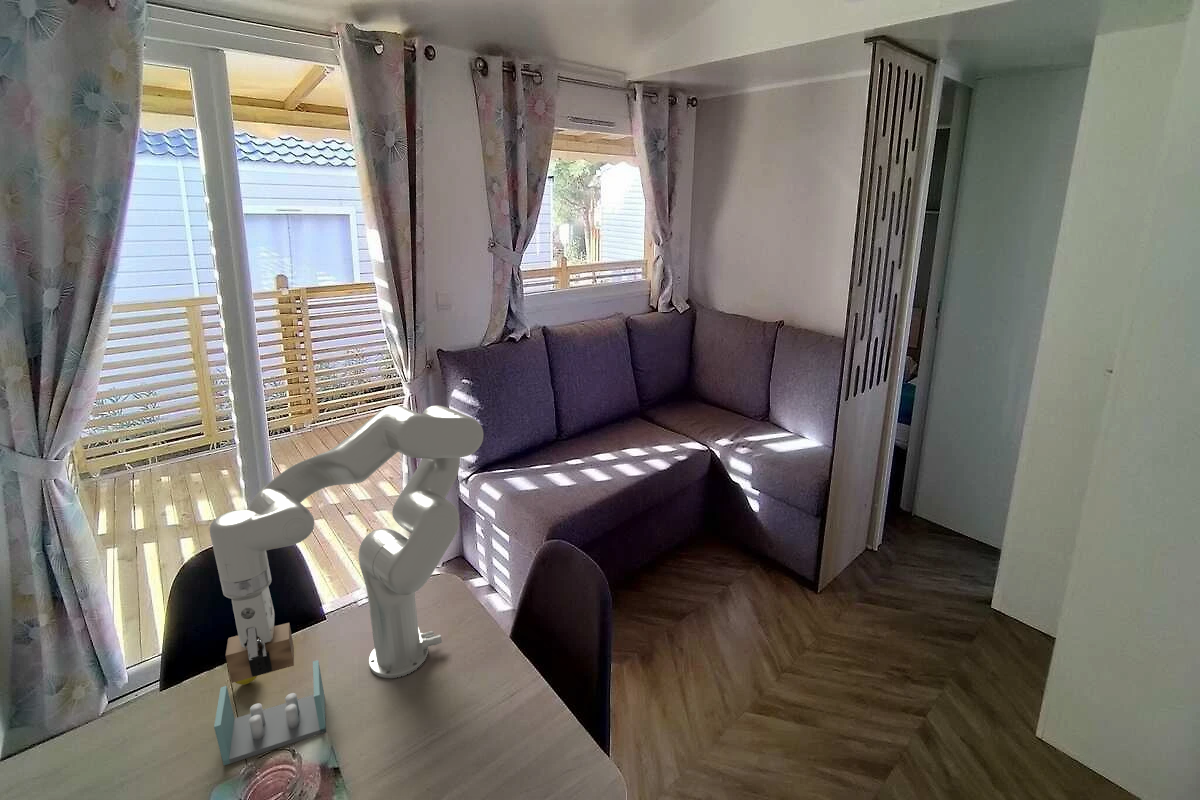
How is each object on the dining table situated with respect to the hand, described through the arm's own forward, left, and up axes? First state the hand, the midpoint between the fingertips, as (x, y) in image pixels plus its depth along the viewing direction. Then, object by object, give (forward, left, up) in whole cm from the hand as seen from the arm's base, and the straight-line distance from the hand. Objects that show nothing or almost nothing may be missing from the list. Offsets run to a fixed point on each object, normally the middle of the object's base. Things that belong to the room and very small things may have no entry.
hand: (263, 661), depth 110 cm
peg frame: (0, 0, -16) cm, 16 cm away
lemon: (+6, -16, -16) cm, 23 cm away
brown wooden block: (0, 0, -1) cm, 1 cm away
